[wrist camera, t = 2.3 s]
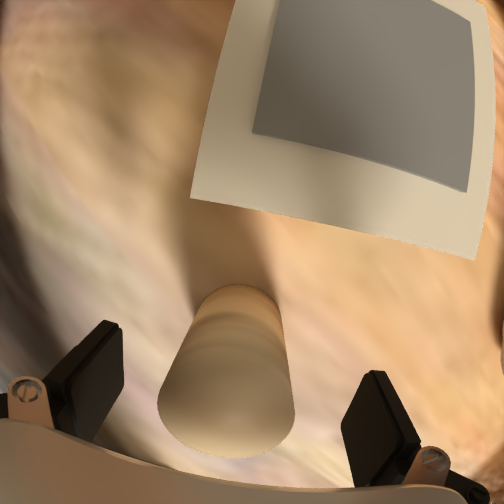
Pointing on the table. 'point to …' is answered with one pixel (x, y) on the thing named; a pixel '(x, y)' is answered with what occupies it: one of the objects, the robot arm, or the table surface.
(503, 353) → the toy
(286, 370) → the cylinder
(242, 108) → the plinth
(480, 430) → the table surface
